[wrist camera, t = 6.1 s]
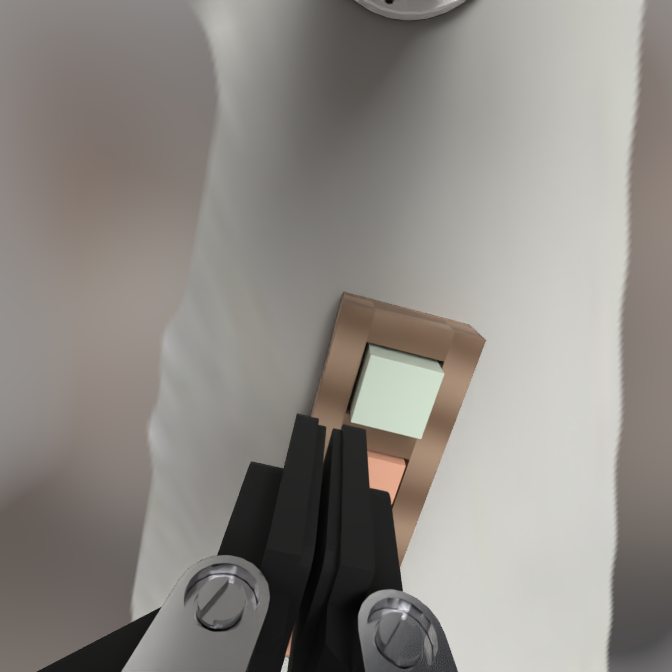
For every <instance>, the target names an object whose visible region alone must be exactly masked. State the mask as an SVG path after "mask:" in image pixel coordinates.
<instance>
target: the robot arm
mask: <svg viewBox="0 0 672 672" xmlns="http://www.w3.org/2000/svg"><path fill="white" fill-rule="evenodd" d="M354 1H356V2H357V3H359V4H360V5H362V6H363V7H365V8H367V9H368V10H370V11H371V12H374V13H377V14H380V15H382V16H385V17H388V18H392V19H401V20H418V19H428V18H431V17H434V16H437V15H440V14H443V13H446V12H448V11H450V10H452V9H453V8H455V7H457V6H459V5H461V4H462V3H464V2H465V1H466V0H392V1H393V3H392V4H387V3H386V2H385V0H354ZM318 424H319V418H315V417H310V416H306V415H301V414H297V416H296V420H295V424H294V428H293V432H292V436H291V441H290V445H289V449H288V453H287V457H286V461H285V466H284V469H283V468H279V467H274V466H270V465H265V464H261V463H256V462H252V461H251V463H250V465H249V468H248V470H247V473H246V476H245V479H244V482H243V484H242V487H241V490H240V493H239V496H238V499H237V501H236V504H235V507H234V510H233V513H232V515H231V518H230V521H229V524H228V527H227V529H226V532H225V535H224V538H223V541H222V543H221V546H220V549H219V552H218V555H217V556H212V557H209V558H206V559H203V560H200V561H199V562H197V563H196V564H194V565H193V566H191V567H190V568H188V569H187V571H186V572H185V573H184V574H183V575H182V576H181V578H180V579H179V580H178V582H177V583H176V585H175V587H174V588H173V590H172V591H171V593H170V595H169V596H168V598H167V599H166V601H165V603H164V604H163V606H162V607H160V608H159V609H157V610H155V611H153V612H151V613H149V614H147V615H145V616H143V617H141V618H139V619H137V620H135V621H134V622H132V623H130V624H128V625H126V626H124V627H122V628H120V629H118V630H116V631H114V632H112V633H110V634H108V635H107V636H105V637H103V638H101V639H99V640H97V641H95V642H93V643H91V644H89V645H87V646H86V647H83V648H82V649H80V650H78V651H76V652H74V653H72V654H70V655H68V656H66V657H64V658H63V659H60V660H59V661H56V662H55V663H53V664H51V665H49V666H47V667H45V668H43V669H41V670H39V671H37V672H281V668H282V665H283V662H284V658H285V655H286V651H287V648H288V645H289V641H290V638H291V635H292V639H291V647H290V655H289V663H288V671H287V672H458V670H457V667H456V664H455V661H454V658H453V655H452V653H451V650H450V647H449V644H448V641H447V638H446V635H445V633H444V631H443V629H442V627H441V625H440V622H439V620H438V619H437V618H436V616H435V615H434V614H433V613H432V611H431V610H430V609H429V608H428V607H427V606H426V605H425V604H423V603H422V602H421V601H420V600H418V599H417V598H415V597H413V596H411V595H409V594H407V593H405V592H403V589H402V581H401V574H400V566H399V558H398V550H397V543H396V535H395V527H394V520H393V512H392V504H391V498H390V494H389V492H387V491H383V490H378V489H374V488H370V484H369V469H368V453H367V438H366V429H363V428H358V427H354V426H350V425H345V424H343V425H342V428H341V430H340V429H335V428H333V430H332V433H331V436H330V440H329V444H328V447H327V451H326V454H325V458H324V449H325V439H326V426H322V425H318ZM323 459H324V462H323ZM292 631H293V632H292Z"/></svg>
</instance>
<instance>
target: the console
mask: <svg viewBox="0 0 672 672" xmlns="http://www.w3.org/2000/svg"><path fill="white" fill-rule="evenodd" d="M485 341H486V340H485V339H484V338H483V337H482V336H481V335H480V334H479V333H478V332H477V331H476V330H475V329H474V328H472V327H471V326H470V325H468V324H465V323H461V322H457V321H453V320H449V319H445V318H442V317H438V316H434V315H430V314H426V313H422V312H419V311H415V310H411V309H407V308H403V307H399V306H396V305H392V304H388V303H384V302H380V301H376V300H373V299H369V298H365V297H361V296H357V295H353V294H350V293H346V292H344V293H343V297H342V300H341V304H340V308H339V312H338V315H337V319H336V323H335V326H334V330H333V334H332V338H331V341H330V345H329V349H328V352H327V356H326V360H325V364H324V367H323V371H322V375H321V378H320V382H319V386H318V390H317V393H316V397H315V401H314V405H313V408H312V412H311V416H310V417H315V418H319V424H318V425H322V426H326V439H325V449H324V458H325V454H326V451H327V447H328V444H329V440H330V436H331V433H332V430H333V428H335V429H340V430H341V428H342V425H343V424H345V425H350V426H354V427H358V428H363V429H366V438H367V449H368V450H372V451H376V452H380V453H384V454H389V455H393V456H397V457H401V458H404V461H405V465H406V466H405V469H404V472H403V475H402V478H401V481H400V483H399V486H398V489H397V492H396V495H395V498H394V500H393V503H392V512H393V520H394V527H395V535H396V543H397V550H398V558H399V566H401V563H402V561H403V558H404V555H405V553H406V550H407V547H408V545H409V542H410V539H411V537H412V534H413V532H414V529H415V526H416V524H417V521H418V518H419V516H420V513H421V510H422V508H423V505H424V503H425V500H426V497H427V495H428V492H429V489H430V487H431V484H432V481H433V479H434V476H435V473H436V471H437V468H438V466H439V463H440V460H441V458H442V455H443V452H444V450H445V447H446V444H447V442H448V439H449V436H450V434H451V431H452V429H453V426H454V423H455V421H456V418H457V415H458V413H459V410H460V407H461V405H462V402H463V400H464V397H465V394H466V392H467V389H468V386H469V384H470V381H471V378H472V376H473V373H474V370H475V368H476V365H477V363H478V360H479V357H480V355H481V352H482V349H483V347H484V344H485ZM368 342H370V343H373V344H377V345H381V346H385V347H389V348H393V349H397V350H401V351H405V352H409V353H413V354H417V355H420V356H424V357H428V358H432V359H436V360H437V362H438V364H439V365H440V367H441V369H442V370H443V372H444V377H443V379H442V382H441V385H440V388H439V391H438V393H437V396H436V399H435V402H434V405H433V407H432V410H431V413H430V416H429V418H428V421H427V424H426V427H425V430H424V432H423V435H422V438H421V439H418V438H414V437H410V436H406V435H402V434H397V433H393V432H389V431H385V430H381V429H377V428H373V427H369V426H365V425H361V424H357V423H352V422H351V413H350V401H351V397H352V394H353V391H354V387H355V384H356V380H357V377H358V374H359V370H360V367H361V364H362V360H363V357H364V353H365V350H366V347H367V343H368ZM323 462H324V459H323ZM292 632H293V631H292ZM291 639H292V635H291V638H290V641H289V645H288V648H287V651H286V655H285V657H287V658H289V655H290V647H291Z"/></svg>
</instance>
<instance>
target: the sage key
mask: <svg viewBox="0 0 672 672" xmlns="http://www.w3.org/2000/svg"><path fill="white" fill-rule="evenodd" d="M443 377H444V372H443V370H442V369H441V367H440V365H439V364H438V362H437V360H436V359H432V358H428V357H424V356H420V355H417V354H413V353H409V352H405V351H401V350H397V349H393V348H389V347H385V346H381V345H377V344H373V343H370V342H368V343H367V347H366V350H365V353H364V357H363V360H362V364H361V367H360V370H359V374H358V377H357V380H356V384H355V387H354V391H353V394H352V397H351V401H350V413H351V422H352V423H357V424H361V425H365V426H369V427H373V428H377V429H381V430H385V431H389V432H393V433H397V434H402V435H406V436H410V437H414V438H418V439H421V438H422V435H423V432H424V430H425V427H426V424H427V421H428V418H429V416H430V413H431V410H432V407H433V405H434V402H435V399H436V396H437V393H438V391H439V388H440V385H441V382H442V379H443Z"/></svg>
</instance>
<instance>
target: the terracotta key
mask: <svg viewBox="0 0 672 672" xmlns="http://www.w3.org/2000/svg"><path fill="white" fill-rule="evenodd" d="M367 453H368V469H369V484H370V488H374V489H378V490H383V491H387V492H389V494H390V498H391V504H392V503H393V500H394V498H395V495H396V492H397V489H398V486H399V483H400V481H401V478H402V475H403V472H404V469H405V466H406V465H405V461H404V458H401V457H397V456H393V455H389V454H384V453H380V452H376V451H372V450H368V449H367Z"/></svg>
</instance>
